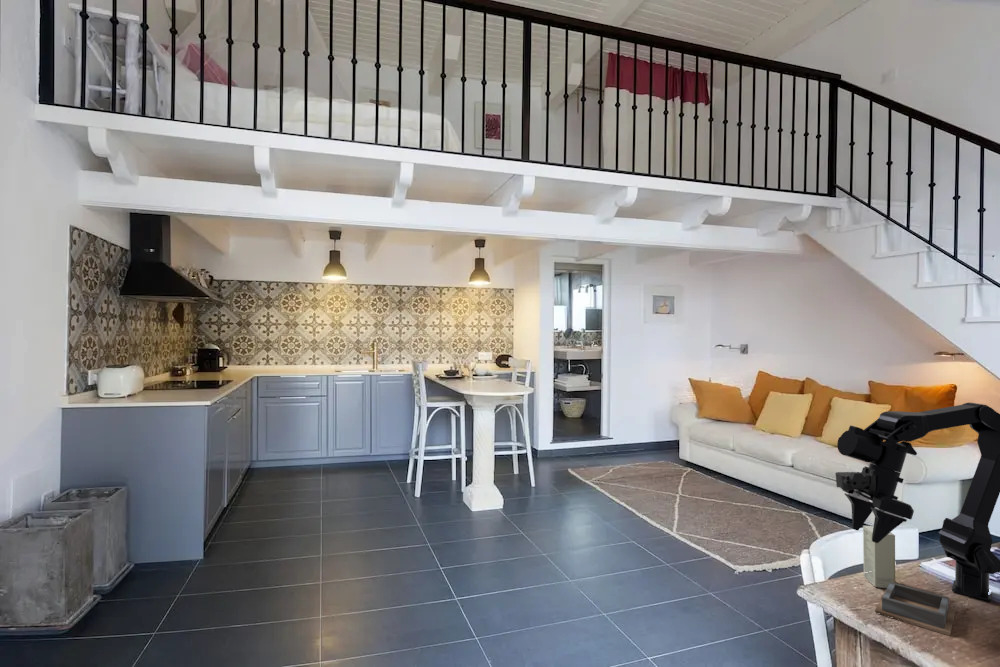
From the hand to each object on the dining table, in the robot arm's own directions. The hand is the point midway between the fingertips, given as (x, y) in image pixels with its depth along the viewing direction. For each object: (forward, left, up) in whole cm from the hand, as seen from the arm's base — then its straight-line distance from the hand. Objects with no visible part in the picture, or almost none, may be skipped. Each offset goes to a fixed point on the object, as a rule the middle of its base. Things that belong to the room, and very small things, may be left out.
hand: (864, 535), depth 120 cm
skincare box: (-9, +1, -13) cm, 16 cm away
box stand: (+2, +9, -13) cm, 16 cm away
